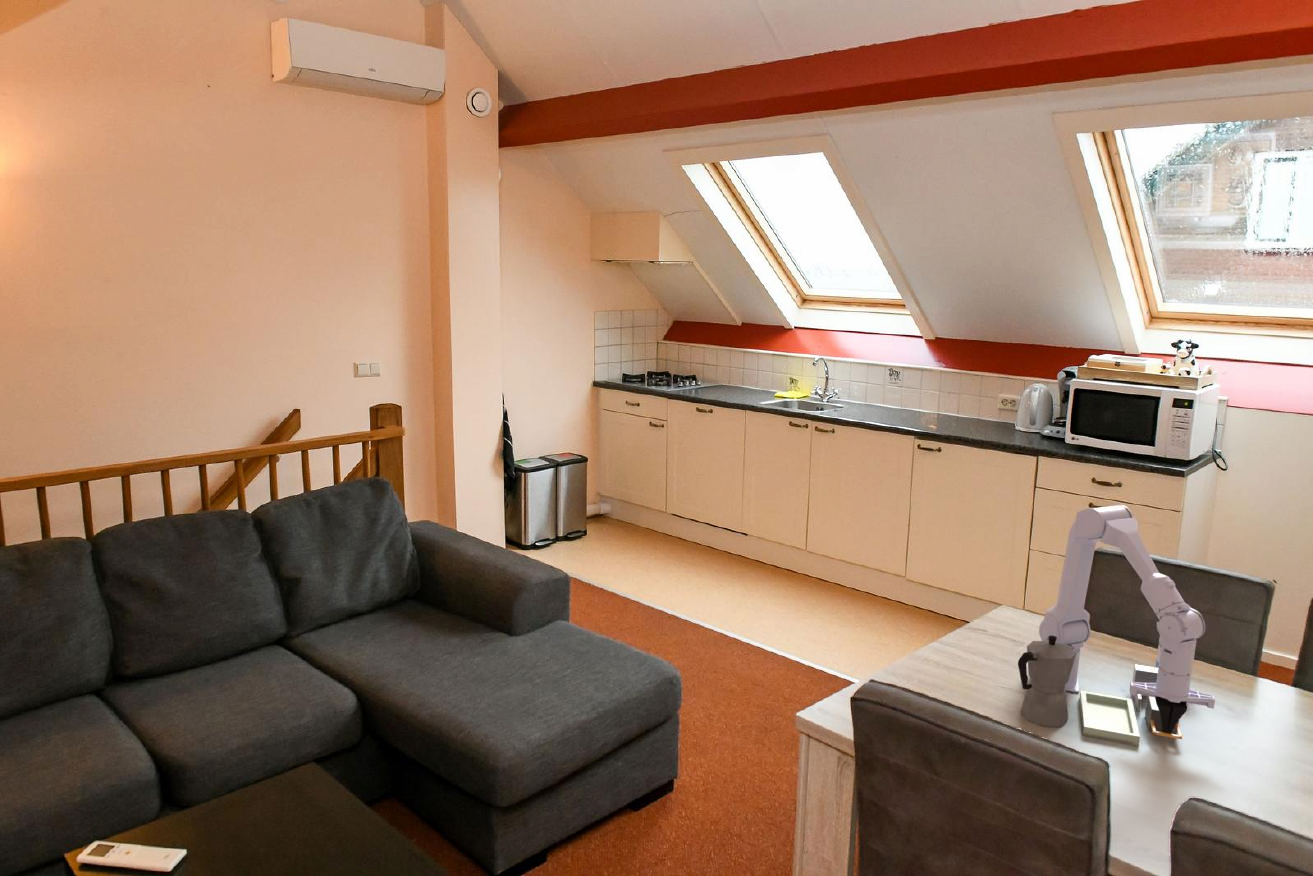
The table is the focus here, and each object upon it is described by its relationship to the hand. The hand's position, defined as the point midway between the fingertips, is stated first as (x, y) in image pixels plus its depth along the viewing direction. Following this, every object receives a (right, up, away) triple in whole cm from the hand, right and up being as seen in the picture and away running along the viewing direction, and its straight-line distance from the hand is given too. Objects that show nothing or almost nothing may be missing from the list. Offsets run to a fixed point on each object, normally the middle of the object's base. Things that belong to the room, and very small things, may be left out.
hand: (1166, 733), depth 185 cm
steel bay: (+6, +1, +16) cm, 18 cm away
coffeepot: (-21, 0, +9) cm, 23 cm away
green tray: (-8, 0, +8) cm, 11 cm away
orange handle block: (+2, -1, +4) cm, 5 cm away
